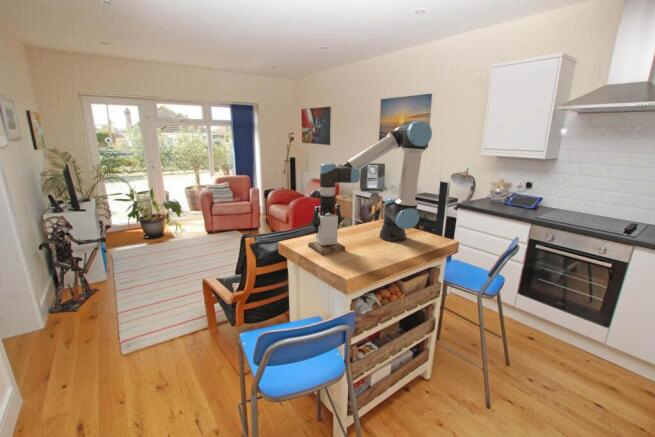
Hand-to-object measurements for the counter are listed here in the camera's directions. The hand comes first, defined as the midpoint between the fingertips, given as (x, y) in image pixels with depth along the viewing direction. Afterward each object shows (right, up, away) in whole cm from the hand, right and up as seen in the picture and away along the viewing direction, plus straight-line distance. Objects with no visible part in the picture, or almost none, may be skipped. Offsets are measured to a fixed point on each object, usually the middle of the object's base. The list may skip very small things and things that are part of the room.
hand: (326, 237), depth 159 cm
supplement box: (0, -3, +1) cm, 3 cm away
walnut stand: (0, -6, +2) cm, 6 cm away
